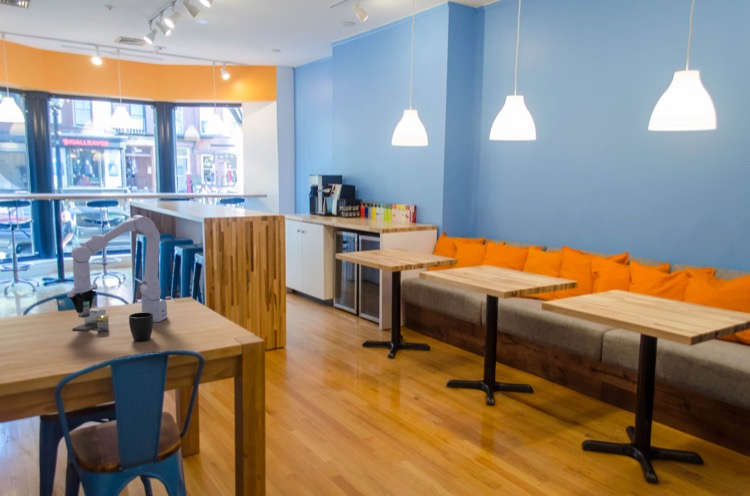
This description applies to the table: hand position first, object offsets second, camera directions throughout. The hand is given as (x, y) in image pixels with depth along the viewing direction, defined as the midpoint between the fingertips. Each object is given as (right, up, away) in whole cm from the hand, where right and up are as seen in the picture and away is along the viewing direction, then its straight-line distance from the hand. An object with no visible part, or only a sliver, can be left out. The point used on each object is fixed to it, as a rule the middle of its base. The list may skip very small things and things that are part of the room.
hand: (83, 311), depth 217 cm
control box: (+1, -6, +7) cm, 10 cm away
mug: (+27, -9, -9) cm, 30 cm away
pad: (0, -7, +1) cm, 7 cm away
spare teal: (0, -2, 0) cm, 2 cm away
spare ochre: (+9, -8, -2) cm, 12 cm away
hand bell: (-12, -4, +26) cm, 29 cm away
